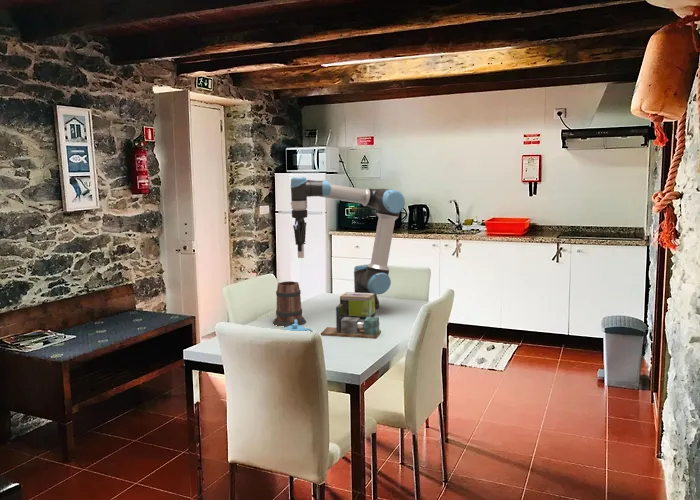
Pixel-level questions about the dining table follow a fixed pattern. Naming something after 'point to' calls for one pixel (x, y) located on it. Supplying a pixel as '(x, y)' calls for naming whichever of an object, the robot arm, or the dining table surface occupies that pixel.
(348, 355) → the dining table surface
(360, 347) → the dining table surface
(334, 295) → the dining table surface
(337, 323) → the grey piece
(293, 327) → the teapot
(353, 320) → the tube stand
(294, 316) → the tankard
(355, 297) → the tea box
